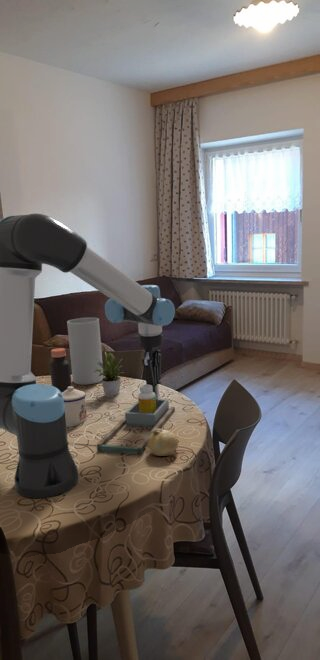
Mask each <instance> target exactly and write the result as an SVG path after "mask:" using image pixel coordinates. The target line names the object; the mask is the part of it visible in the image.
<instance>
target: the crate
mask: <svg viewBox="0 0 320 660" xmlns="http://www.w3.org/2000/svg"><path fill="white" fill-rule="evenodd" d="M169 404H170V403H169V399H164V398H163V399H161V398H159V399H156V411H155V412H154V413H153V414H149V413H139V401H138V400H137V401H136V402H135V403H134V404H133V405H132V406H131V407H130V408H129V409H127V410H126V412H125V413H124V415H125V416H124V417H125V419H126V424H125V426H128V427H129V426H131V427H143V428H154V427H155V425H156V424H157V423H158V422H159V421H160V419H161V418H162V417H163V416H164V415H165V413H166V412H167V411H168V410H169V409H170V408H169V407H170V405H169Z"/></svg>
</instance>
